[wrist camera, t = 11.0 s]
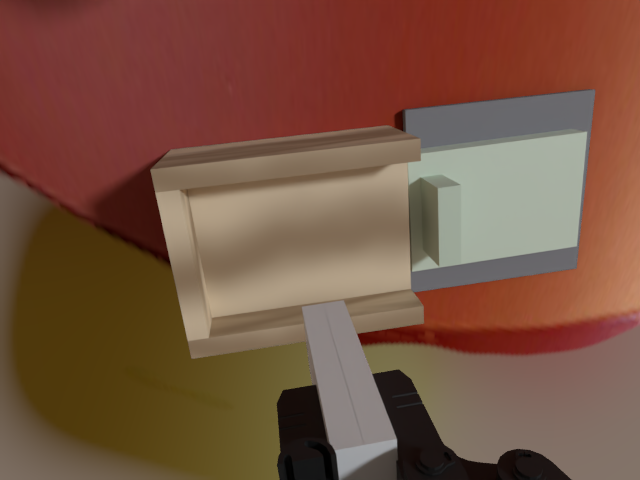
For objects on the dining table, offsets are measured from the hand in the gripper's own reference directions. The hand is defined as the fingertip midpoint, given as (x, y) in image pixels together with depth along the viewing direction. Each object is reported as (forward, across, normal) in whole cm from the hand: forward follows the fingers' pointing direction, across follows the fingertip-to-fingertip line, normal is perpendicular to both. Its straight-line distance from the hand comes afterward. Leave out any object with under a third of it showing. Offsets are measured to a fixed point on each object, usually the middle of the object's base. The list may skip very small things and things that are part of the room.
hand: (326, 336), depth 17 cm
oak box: (+16, 0, -1) cm, 16 cm away
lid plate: (+16, +14, -1) cm, 21 cm away
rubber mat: (+16, +14, -1) cm, 22 cm away
